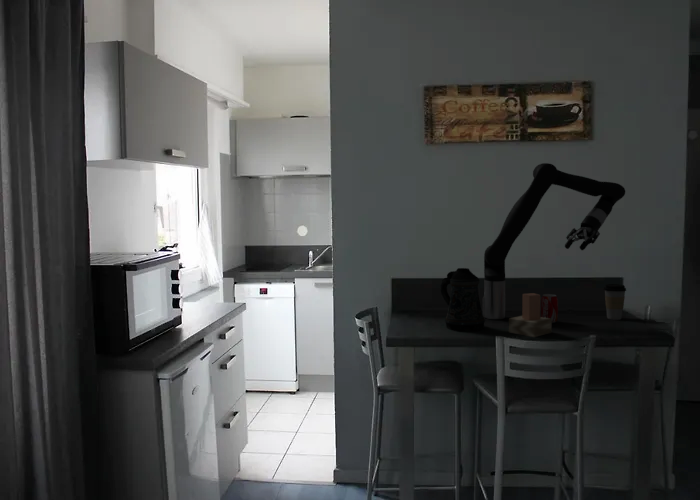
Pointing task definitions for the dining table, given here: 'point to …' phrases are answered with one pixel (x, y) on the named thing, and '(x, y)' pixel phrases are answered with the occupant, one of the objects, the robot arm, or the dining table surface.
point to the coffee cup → (614, 300)
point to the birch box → (530, 326)
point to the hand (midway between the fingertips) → (573, 248)
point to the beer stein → (462, 301)
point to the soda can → (549, 307)
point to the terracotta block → (531, 306)
